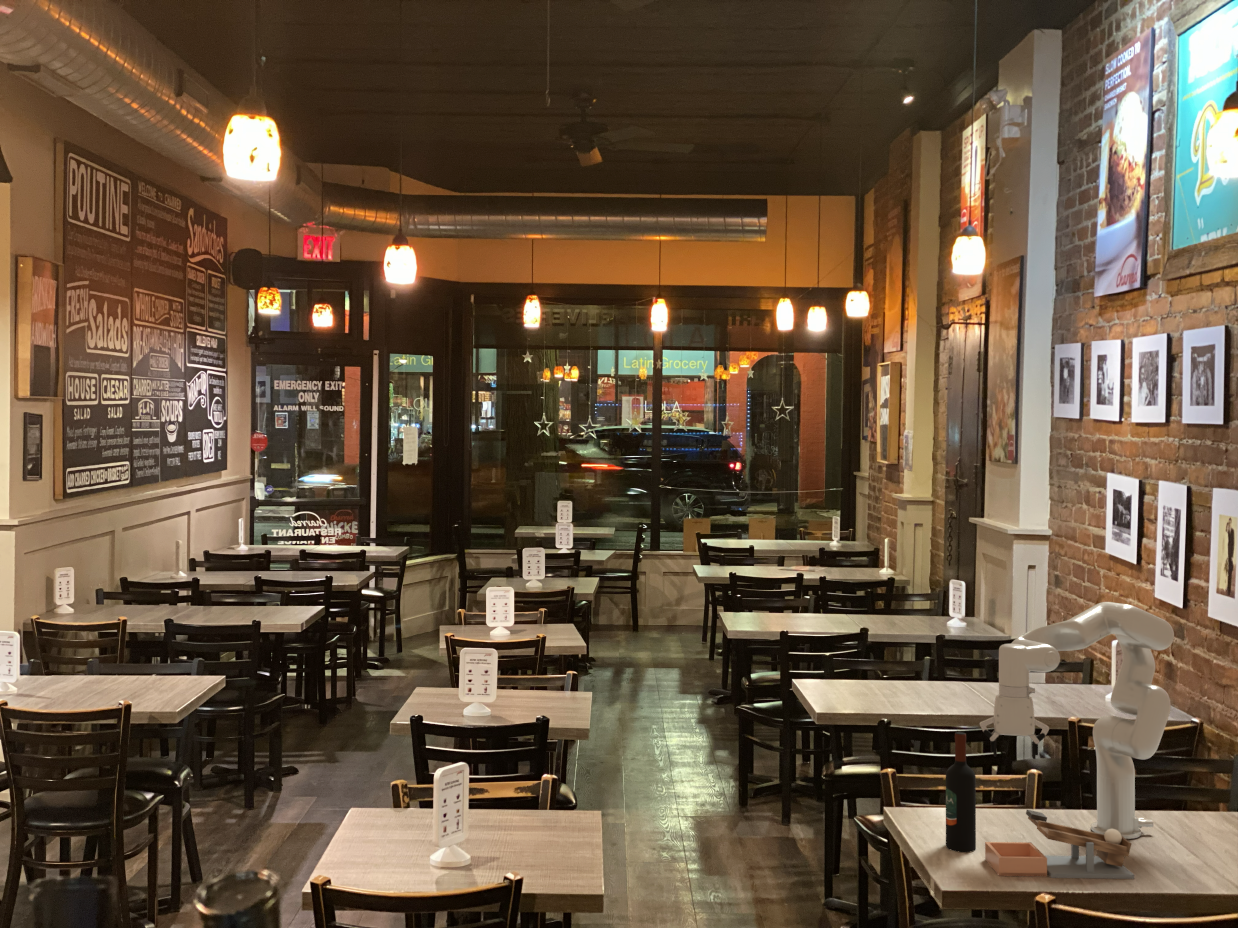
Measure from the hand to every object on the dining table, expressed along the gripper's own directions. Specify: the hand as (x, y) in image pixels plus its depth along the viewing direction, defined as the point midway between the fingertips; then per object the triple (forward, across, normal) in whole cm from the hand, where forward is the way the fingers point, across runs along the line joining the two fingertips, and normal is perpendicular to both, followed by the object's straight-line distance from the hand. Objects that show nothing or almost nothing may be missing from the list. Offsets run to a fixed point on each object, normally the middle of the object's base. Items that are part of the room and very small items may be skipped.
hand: (1014, 756), depth 294 cm
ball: (+16, -23, +10) cm, 29 cm away
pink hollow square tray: (+24, +1, +16) cm, 29 cm away
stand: (+24, -15, +12) cm, 31 cm away
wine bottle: (+24, +14, +3) cm, 28 cm away
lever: (+20, -13, +8) cm, 26 cm away
